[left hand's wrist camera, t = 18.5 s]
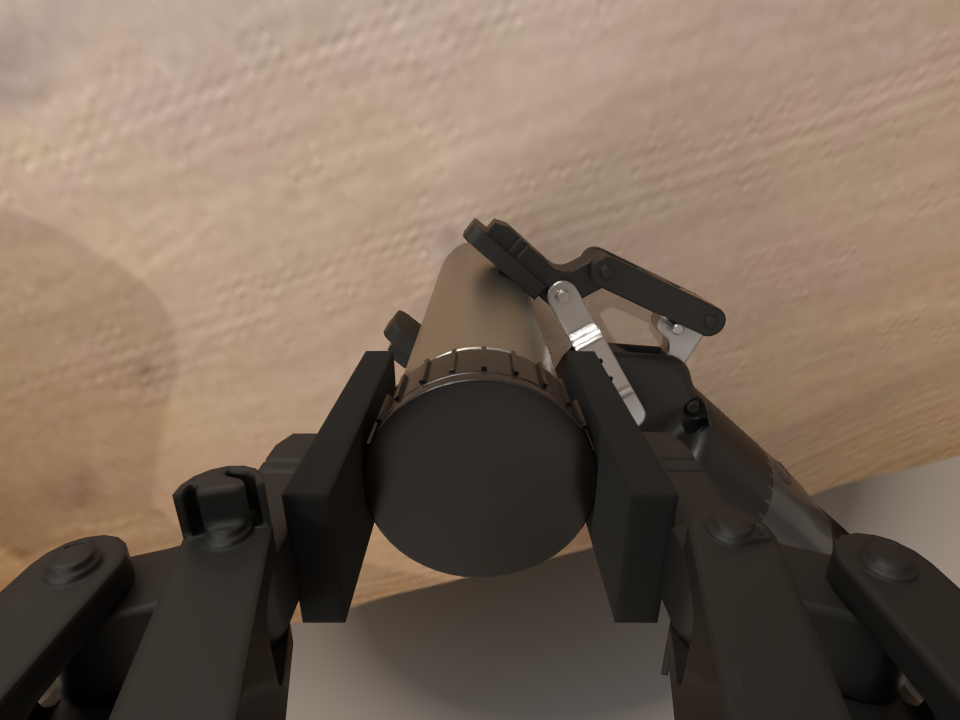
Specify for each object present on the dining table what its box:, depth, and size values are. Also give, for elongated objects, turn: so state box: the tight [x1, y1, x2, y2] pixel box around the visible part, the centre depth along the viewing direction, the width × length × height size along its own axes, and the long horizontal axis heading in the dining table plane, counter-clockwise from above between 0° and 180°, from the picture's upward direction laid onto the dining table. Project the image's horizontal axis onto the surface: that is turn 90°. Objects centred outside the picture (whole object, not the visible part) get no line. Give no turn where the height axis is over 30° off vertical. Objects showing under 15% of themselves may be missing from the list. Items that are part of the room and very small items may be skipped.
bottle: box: [404, 242, 558, 380], centre depth 20 cm, size 4×4×18 cm
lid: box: [363, 346, 597, 578], centre depth 11 cm, size 5×5×2 cm
